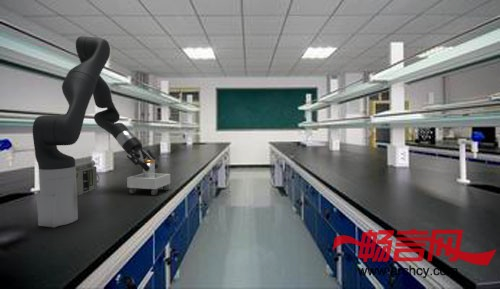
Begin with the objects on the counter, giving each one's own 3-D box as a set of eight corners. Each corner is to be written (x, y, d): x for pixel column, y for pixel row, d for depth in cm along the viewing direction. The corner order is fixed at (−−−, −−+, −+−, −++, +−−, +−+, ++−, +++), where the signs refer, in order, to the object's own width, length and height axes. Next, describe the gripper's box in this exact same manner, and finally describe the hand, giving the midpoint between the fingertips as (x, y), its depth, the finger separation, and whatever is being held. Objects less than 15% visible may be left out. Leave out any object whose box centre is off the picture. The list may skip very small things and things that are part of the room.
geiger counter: (69, 166, 108) (104, 158, 132) (54, 165, 108) (92, 158, 133) (71, 199, 108) (105, 185, 133) (56, 199, 109) (93, 185, 134)
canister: (150, 183, 117) (150, 160, 117) (141, 182, 118) (140, 160, 118) (157, 181, 122) (157, 159, 122) (147, 180, 123) (147, 159, 123)
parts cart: (155, 196, 113) (155, 178, 112) (127, 194, 116) (127, 177, 116) (170, 189, 124) (170, 174, 124) (144, 188, 128) (144, 172, 127)
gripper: (122, 137, 114) (147, 165, 111) (143, 136, 127) (166, 161, 125) (112, 149, 115) (137, 177, 113) (134, 146, 129) (156, 171, 127)
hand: (152, 168), depth 119 cm, fingers open, 5 cm apart
